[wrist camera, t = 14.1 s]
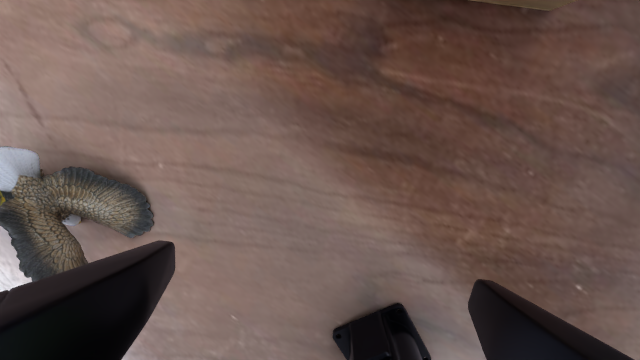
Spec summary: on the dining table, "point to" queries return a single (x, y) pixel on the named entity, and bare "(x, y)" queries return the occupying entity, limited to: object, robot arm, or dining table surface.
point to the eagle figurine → (60, 211)
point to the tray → (531, 3)
